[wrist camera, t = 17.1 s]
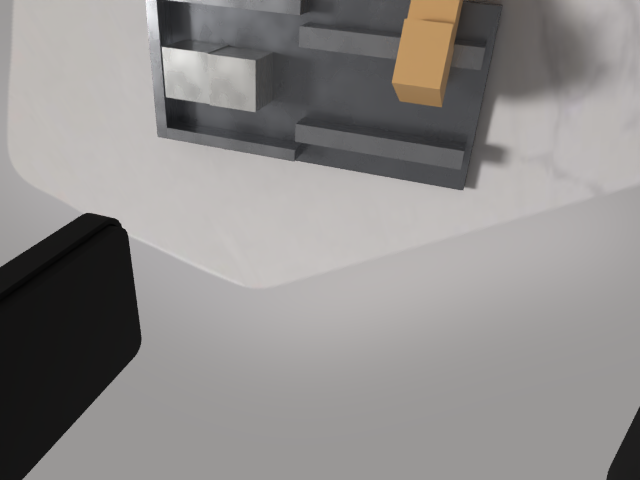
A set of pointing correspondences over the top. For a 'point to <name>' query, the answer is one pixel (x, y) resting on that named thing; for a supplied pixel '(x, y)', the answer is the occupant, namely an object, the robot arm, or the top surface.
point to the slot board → (330, 85)
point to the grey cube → (240, 78)
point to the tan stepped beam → (426, 51)
